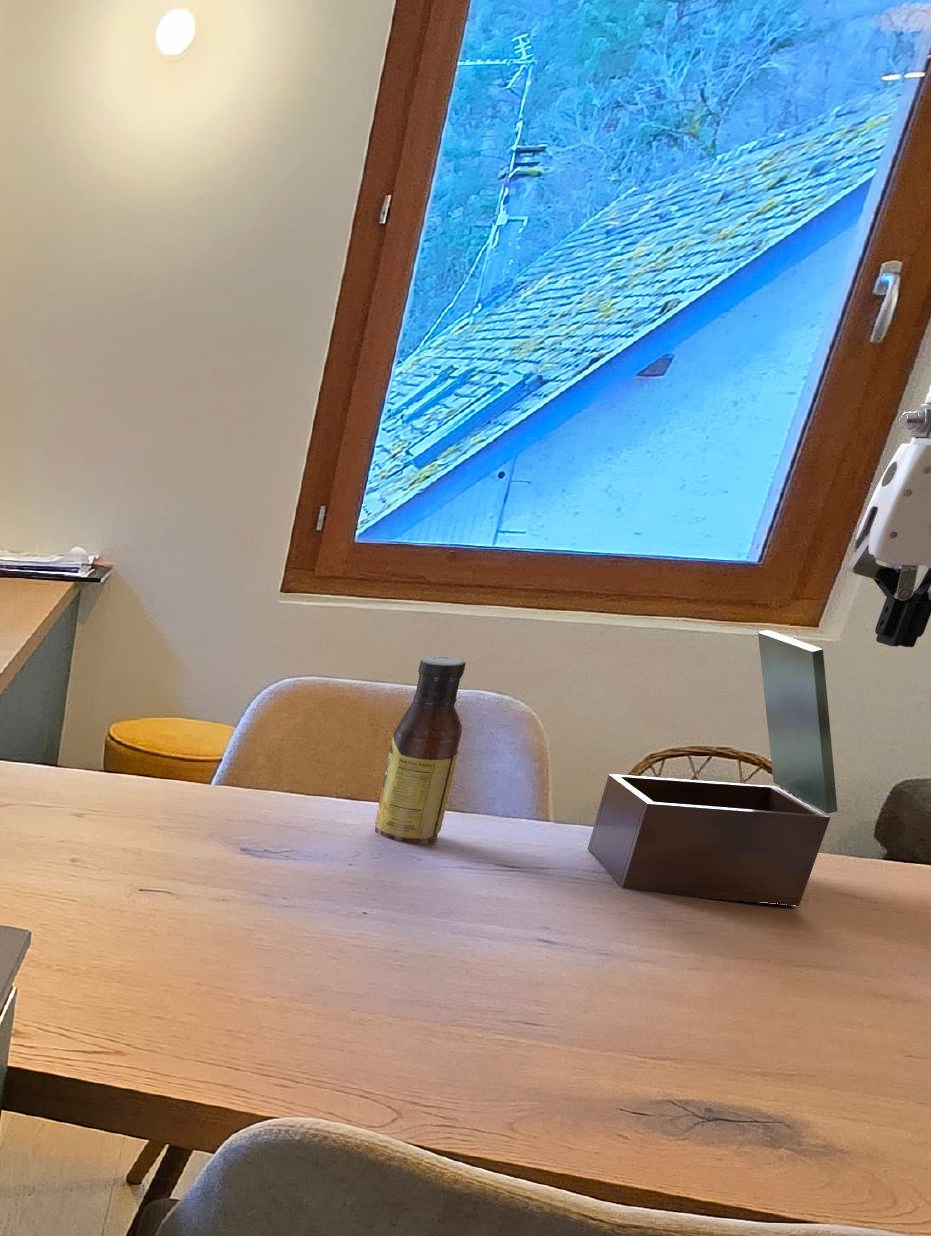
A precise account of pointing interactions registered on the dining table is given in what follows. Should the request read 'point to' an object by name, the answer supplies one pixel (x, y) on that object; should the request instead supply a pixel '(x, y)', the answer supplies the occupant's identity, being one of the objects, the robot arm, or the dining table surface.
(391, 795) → the sauce bottle
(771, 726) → the lid
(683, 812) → the chest
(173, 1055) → the dining table surface
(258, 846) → the dining table surface
